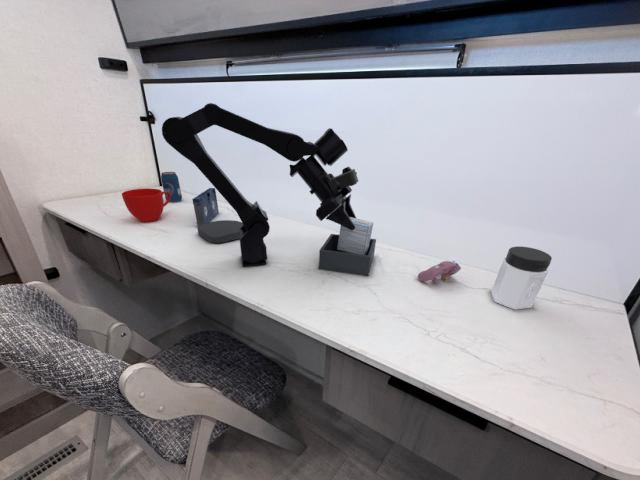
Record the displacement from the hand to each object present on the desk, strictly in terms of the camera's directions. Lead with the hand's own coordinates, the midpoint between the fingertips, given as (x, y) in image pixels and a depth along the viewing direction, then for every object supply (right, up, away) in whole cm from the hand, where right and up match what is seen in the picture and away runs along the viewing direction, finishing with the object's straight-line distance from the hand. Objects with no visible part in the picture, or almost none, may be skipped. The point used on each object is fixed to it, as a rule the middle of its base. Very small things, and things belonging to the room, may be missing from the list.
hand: (355, 226), depth 82 cm
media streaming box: (-42, +2, +22) cm, 48 cm away
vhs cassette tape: (-52, +11, +36) cm, 64 cm away
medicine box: (0, -6, +4) cm, 7 cm away
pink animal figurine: (+21, -15, -2) cm, 26 cm away
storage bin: (-2, -9, +6) cm, 11 cm away
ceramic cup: (-73, +11, +35) cm, 82 cm away
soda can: (-76, +25, +57) cm, 99 cm away
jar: (+36, -20, -9) cm, 42 cm away
